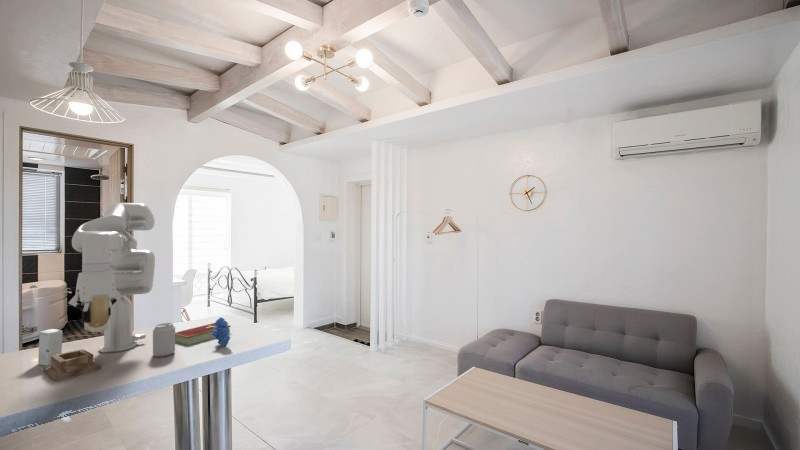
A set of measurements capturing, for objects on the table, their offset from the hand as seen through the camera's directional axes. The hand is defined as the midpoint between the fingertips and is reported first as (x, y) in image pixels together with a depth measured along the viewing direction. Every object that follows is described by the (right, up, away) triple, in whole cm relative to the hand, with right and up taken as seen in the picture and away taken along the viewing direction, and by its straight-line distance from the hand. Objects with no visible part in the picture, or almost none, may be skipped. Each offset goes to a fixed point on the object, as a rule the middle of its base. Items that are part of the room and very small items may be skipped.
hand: (96, 319), depth 126 cm
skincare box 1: (-26, -19, +10) cm, 34 cm away
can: (+10, -19, +20) cm, 30 cm away
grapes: (+28, -19, +30) cm, 45 cm away
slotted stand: (-11, -19, +3) cm, 22 cm away
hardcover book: (+13, -20, +43) cm, 49 cm away
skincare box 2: (0, -4, 0) cm, 4 cm away
